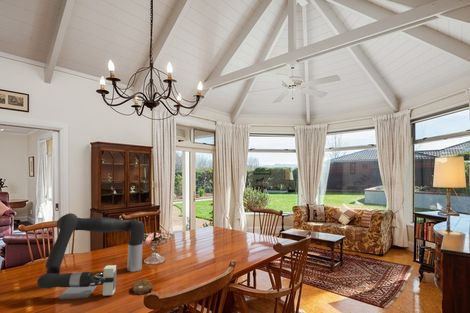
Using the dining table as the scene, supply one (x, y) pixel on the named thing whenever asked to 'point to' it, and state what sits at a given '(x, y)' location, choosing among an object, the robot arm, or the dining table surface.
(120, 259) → the dining table surface
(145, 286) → the decorative rock
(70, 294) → the slate tile
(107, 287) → the off-white rectangular block
